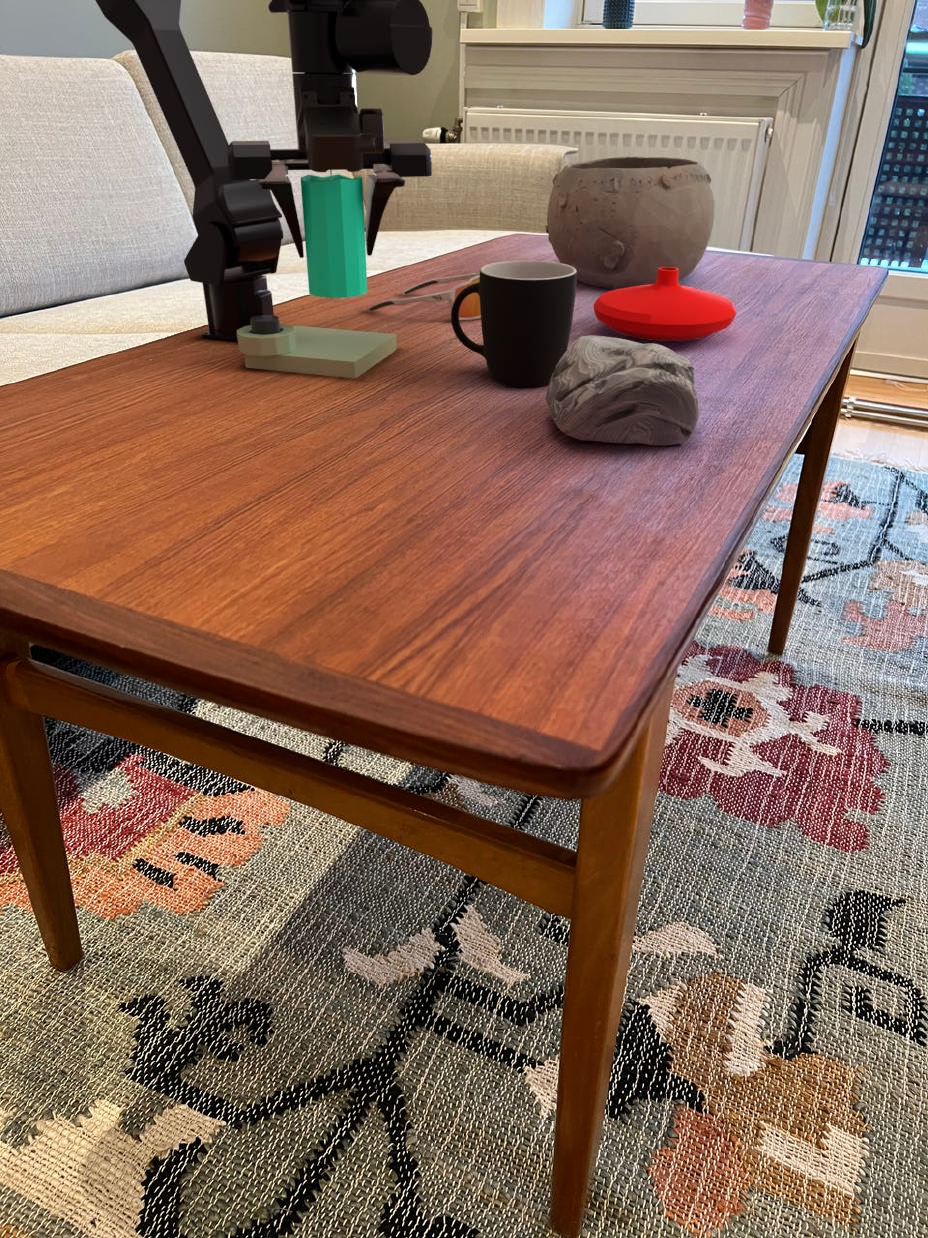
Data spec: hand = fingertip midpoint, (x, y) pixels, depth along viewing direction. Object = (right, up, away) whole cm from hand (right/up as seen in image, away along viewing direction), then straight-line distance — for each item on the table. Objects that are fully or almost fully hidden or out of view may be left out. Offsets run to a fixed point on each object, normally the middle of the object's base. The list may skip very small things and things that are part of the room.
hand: (335, 255), depth 92 cm
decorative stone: (+26, -20, -13) cm, 35 cm away
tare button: (-7, -8, +1) cm, 10 cm away
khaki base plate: (-2, -9, +4) cm, 10 cm away
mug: (+17, -12, -1) cm, 21 cm away
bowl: (+36, +12, +40) cm, 55 cm away
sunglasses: (+10, +3, +24) cm, 26 cm away
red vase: (+35, -4, +13) cm, 38 cm away
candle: (0, -3, +2) cm, 4 cm away
